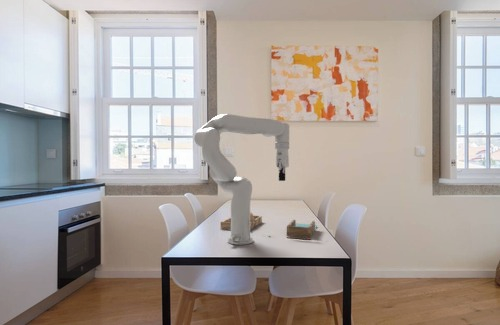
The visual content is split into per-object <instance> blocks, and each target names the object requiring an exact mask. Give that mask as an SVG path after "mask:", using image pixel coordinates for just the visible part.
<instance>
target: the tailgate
mask: <svg viewBox="0 0 500 325" xmlns="http://www.w3.org/2000/svg"><path fill="white" fill-rule="evenodd" d="M310 224H311V223H309V224H308V223H307V224H306V223H296V226H298V227H309V226H310ZM317 227H318V226H317V224H315V230H316V229H317Z"/></svg>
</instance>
